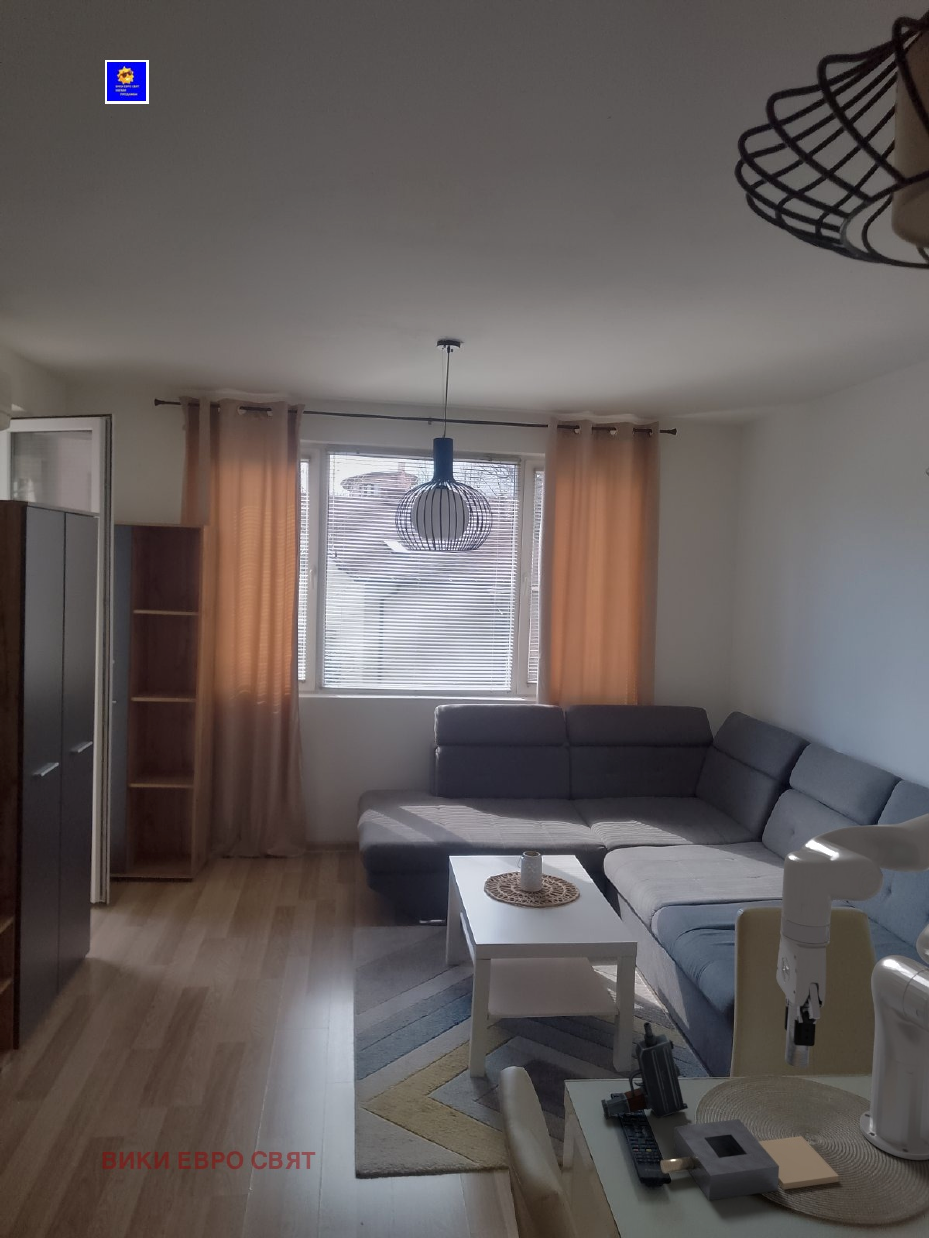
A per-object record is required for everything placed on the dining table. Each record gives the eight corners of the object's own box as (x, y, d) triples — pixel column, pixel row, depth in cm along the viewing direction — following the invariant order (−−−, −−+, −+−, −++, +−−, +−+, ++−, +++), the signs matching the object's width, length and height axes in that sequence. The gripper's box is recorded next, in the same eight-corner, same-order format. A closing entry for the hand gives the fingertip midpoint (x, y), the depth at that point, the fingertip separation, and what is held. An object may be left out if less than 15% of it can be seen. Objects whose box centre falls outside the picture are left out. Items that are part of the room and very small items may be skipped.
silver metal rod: (781, 1054, 144) (787, 980, 143) (803, 1056, 143) (809, 981, 143) (789, 1066, 140) (794, 990, 139) (811, 1068, 140) (817, 991, 139)
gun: (586, 1038, 154) (664, 1013, 156) (606, 1123, 155) (683, 1098, 157) (590, 1046, 151) (669, 1021, 153) (610, 1133, 153) (688, 1107, 155)
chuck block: (737, 1141, 148) (738, 1118, 148) (777, 1190, 136) (779, 1165, 136) (646, 1152, 144) (647, 1129, 144) (679, 1204, 133) (680, 1179, 132)
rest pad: (801, 1141, 149) (801, 1135, 149) (838, 1181, 139) (838, 1175, 139) (749, 1148, 146) (749, 1142, 146) (783, 1189, 137) (783, 1183, 137)
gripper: (766, 908, 149) (760, 1010, 150) (799, 949, 132) (793, 1064, 133) (809, 910, 149) (804, 1013, 150) (848, 952, 132) (842, 1067, 133)
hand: (799, 1036), depth 141 cm, fingers closed on silver metal rod, 3 cm apart
